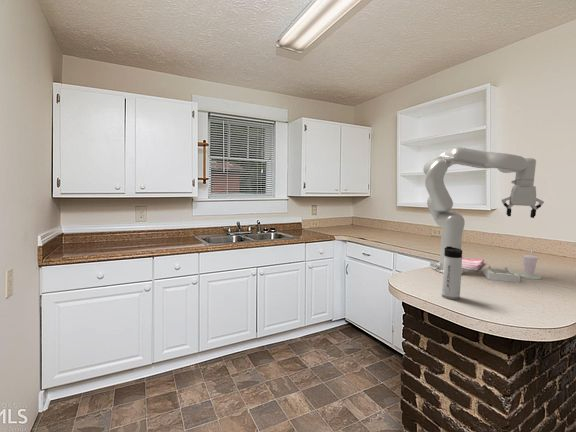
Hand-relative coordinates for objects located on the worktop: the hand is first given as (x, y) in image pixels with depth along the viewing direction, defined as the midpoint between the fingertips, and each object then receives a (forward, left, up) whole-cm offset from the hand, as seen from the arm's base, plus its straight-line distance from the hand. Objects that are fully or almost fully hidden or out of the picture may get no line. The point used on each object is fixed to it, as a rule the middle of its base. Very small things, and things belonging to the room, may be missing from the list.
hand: (520, 216), depth 152 cm
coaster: (+4, -3, -30) cm, 30 cm away
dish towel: (-22, +11, -30) cm, 39 cm away
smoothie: (+4, -3, -29) cm, 30 cm away
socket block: (-10, -11, -30) cm, 33 cm away
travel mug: (-37, -52, -30) cm, 70 cm away
